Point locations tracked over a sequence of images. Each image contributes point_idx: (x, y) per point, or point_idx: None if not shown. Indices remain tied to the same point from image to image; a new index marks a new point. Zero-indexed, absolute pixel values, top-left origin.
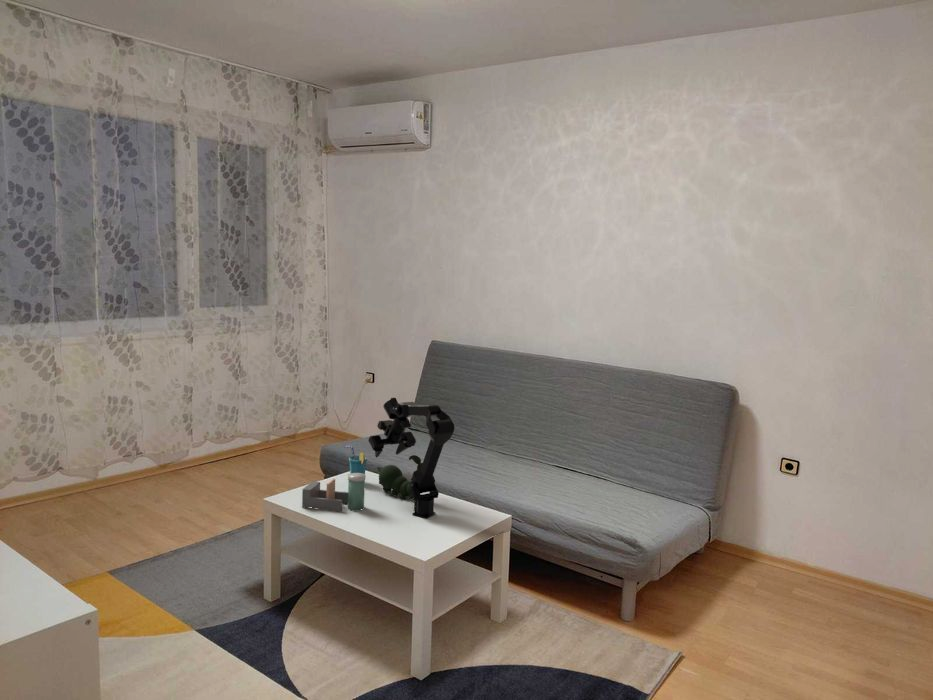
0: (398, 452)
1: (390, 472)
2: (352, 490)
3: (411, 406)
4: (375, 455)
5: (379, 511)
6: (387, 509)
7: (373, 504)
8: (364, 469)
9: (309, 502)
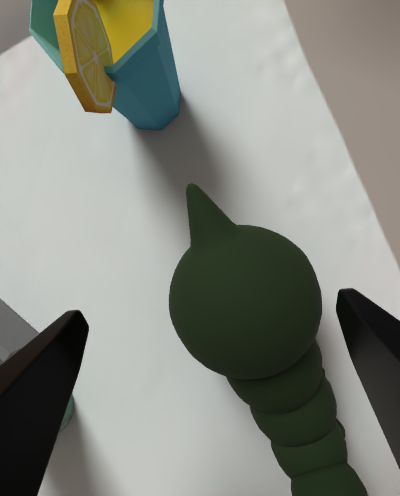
0: (357, 369)
1: (214, 368)
2: None
3: None
4: (64, 320)
5: (110, 477)
6: (146, 472)
7: (118, 395)
8: (157, 84)
9: None
